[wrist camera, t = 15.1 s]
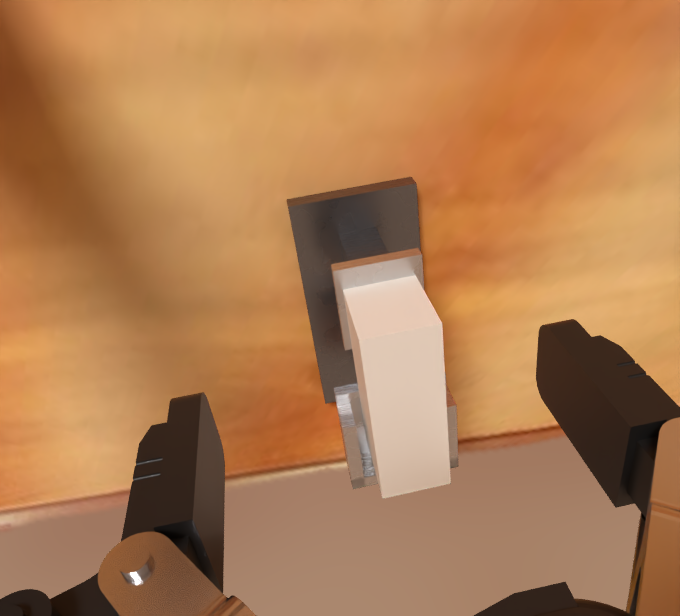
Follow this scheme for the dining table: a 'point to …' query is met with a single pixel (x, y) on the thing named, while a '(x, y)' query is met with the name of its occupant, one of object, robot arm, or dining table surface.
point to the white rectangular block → (400, 383)
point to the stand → (353, 271)
